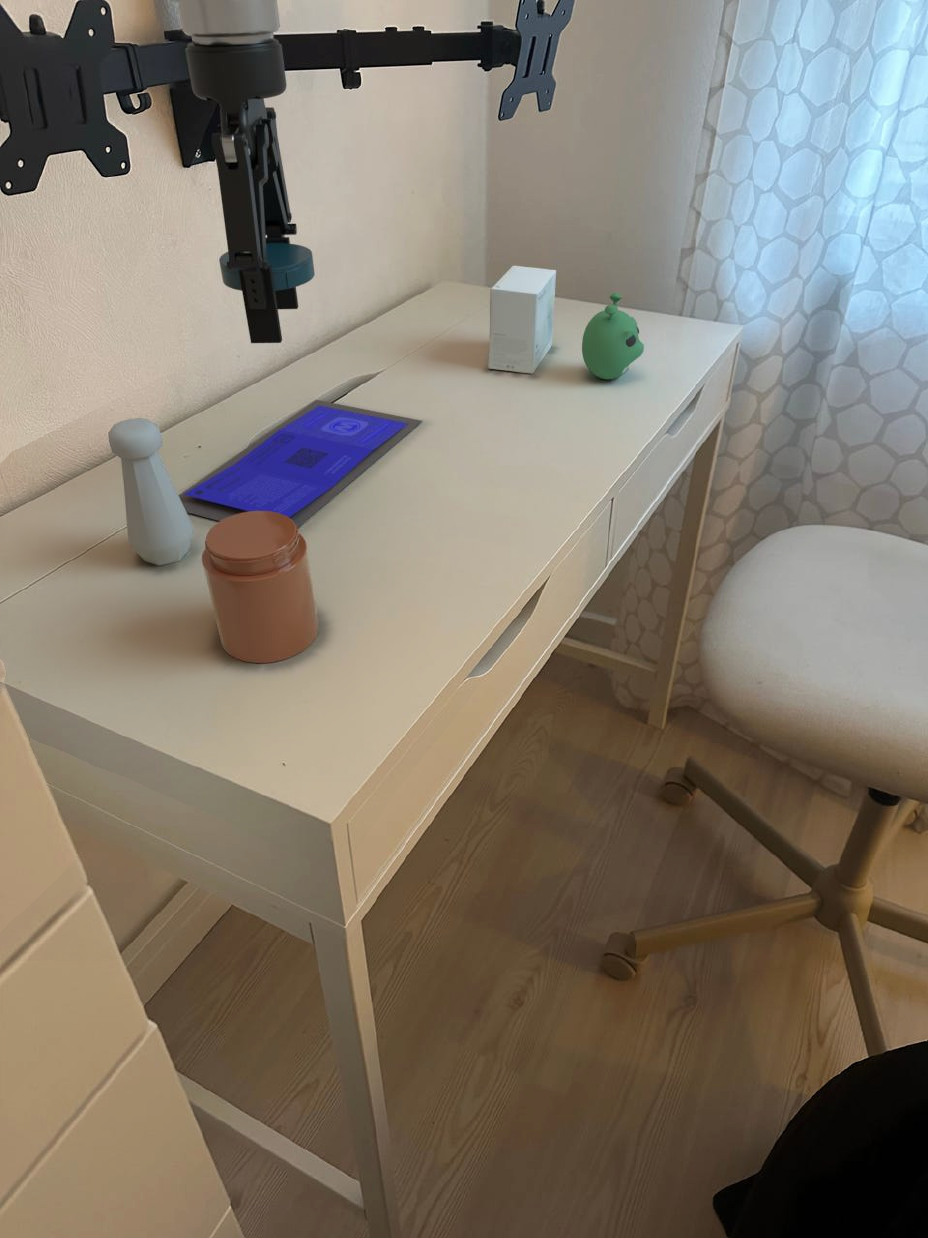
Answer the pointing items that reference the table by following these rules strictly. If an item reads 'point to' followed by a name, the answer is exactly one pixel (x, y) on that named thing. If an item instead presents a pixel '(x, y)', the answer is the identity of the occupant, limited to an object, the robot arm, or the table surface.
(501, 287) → the cosmetics box
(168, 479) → the salt shaker
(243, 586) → the jar
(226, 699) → the table surface
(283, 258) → the jar lid
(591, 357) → the alien toy
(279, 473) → the booklet
